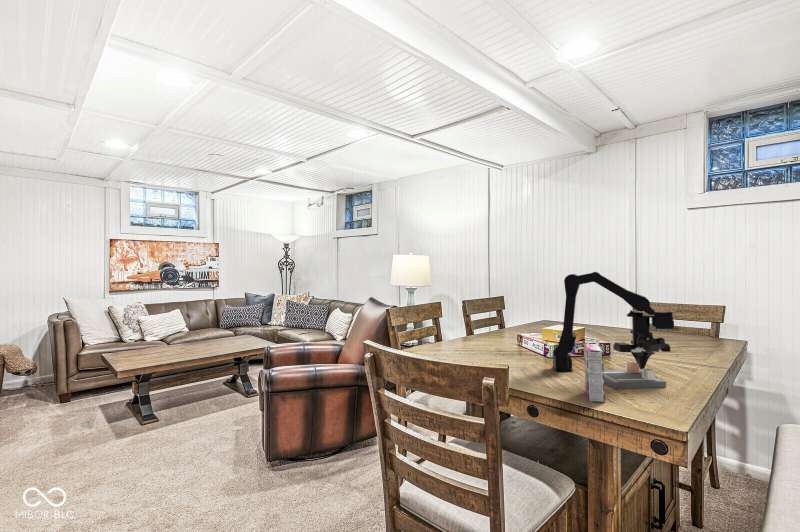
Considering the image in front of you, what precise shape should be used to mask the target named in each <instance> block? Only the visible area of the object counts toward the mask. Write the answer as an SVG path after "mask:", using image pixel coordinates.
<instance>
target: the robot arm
mask: <svg viewBox="0 0 800 532" xmlns="http://www.w3.org/2000/svg"><path fill="white" fill-rule="evenodd" d="M563 283H564V292H565V304H564V305H565V307H564V316H563V323H562V325H563V327H562V332H561V334H560V338H559V340H558V344H557V346H556V347H555V348H554V349H553V351H552V366H551V369H552V370H554V371H555V372H560V373H561V372H563V373H564V372H573V359H572V358H571V354H570V353H571V352H573V350H574V348H576V347H577V336H578V334H574V323H575V311H576V300H577V296H578V292H579V289H580V286H581V285H584V284H588V283H595V284H597V285H599V286H601V287H602V288H604V289H606V290H608V291H609V292H611V293H613V294H614V295H615V296H618V297H619V298H621V299H622V300H623V301H625V302H626V303H627V304H628V305H629V306H630V307H631V308H633V309H634V310H635V312H634V310H632V309H630V311H629V312H628V313H626V317H628V318H631V319H632V321H631V322H632V324H631V325H632V328H631V330H630V334H632V340H630V344H629V343H627V342H624V341H623V342H622V341H621V342H620V341H619V342H618V341H617V342H614V343H613V349H612V350H613V351H616V352H619V353H631V355H632V356H633V357H634V360H635V361H636V362H635V363H637V364H639V370H640V371H642V369H646V368H645V367H646V365H647V362H648V360H649V359H650V357H651V356H653V355H655V354H656V353H658V352H660V351H661V352H663V353H667V352H669V353H670V352H671V348H672V347H671V345H670V344H669V343H666V341H665V340H666V339H665V338H663V337H657V338H655V337H653V335H654V334H653V332H652V331H651V327H653V328H654V329H655V330H658V331H662V330H663V331H674V329H675V321H674V318H673V317H674V316H673V312H672V311H655V309H654V308H652V307H651V303H650V300H649V299H648V298H647V297H646V296H644V295H641V294H639V293H636V292H634V291H631V290H629V289H626V288H625V287H623V286H621V285H619V284H618V283H616V282H614V281H612V280H611V279H609V278H607V277H605V276H603V275H602V274H600V272H598V271H593V272H590V273H585V274H579V275H578V274H575V273H571V274H569V275H568V274H567V275H566V276H565V278H564V280H563ZM636 311H637V312H636ZM643 312H644V313H646V314H643ZM647 314H648V315H647ZM650 324H651V325H650Z"/></svg>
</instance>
